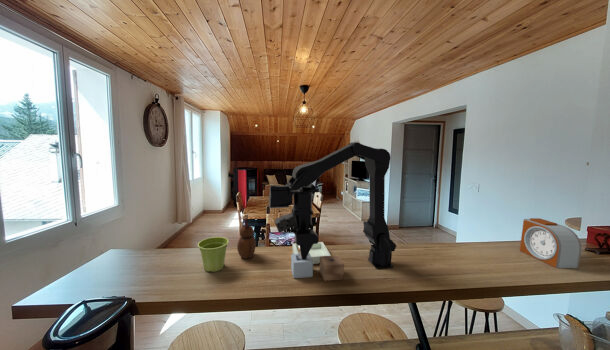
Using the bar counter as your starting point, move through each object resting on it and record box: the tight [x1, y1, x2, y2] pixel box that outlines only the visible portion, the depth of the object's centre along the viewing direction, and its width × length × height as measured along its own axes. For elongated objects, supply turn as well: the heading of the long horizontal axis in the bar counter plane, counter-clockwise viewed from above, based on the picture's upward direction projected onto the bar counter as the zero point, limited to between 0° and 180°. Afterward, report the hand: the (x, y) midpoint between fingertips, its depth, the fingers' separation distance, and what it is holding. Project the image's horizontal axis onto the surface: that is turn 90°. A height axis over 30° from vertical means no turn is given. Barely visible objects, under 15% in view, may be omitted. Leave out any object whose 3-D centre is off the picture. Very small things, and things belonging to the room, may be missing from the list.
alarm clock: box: [519, 217, 582, 269], centre depth 89 cm, size 15×8×14 cm, turn 2°
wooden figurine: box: [236, 217, 257, 259], centre depth 87 cm, size 7×6×15 cm
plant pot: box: [197, 236, 230, 273], centre depth 79 cm, size 9×9×9 cm
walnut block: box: [319, 254, 345, 282], centre depth 76 cm, size 6×6×5 cm
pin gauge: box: [298, 246, 302, 261], centre depth 76 cm, size 2×2×9 cm
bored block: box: [290, 253, 314, 279], centre depth 77 cm, size 6×6×5 cm
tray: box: [291, 241, 332, 265], centre depth 88 cm, size 12×12×3 cm
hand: (301, 254), depth 76 cm, fingers open, 6 cm apart
